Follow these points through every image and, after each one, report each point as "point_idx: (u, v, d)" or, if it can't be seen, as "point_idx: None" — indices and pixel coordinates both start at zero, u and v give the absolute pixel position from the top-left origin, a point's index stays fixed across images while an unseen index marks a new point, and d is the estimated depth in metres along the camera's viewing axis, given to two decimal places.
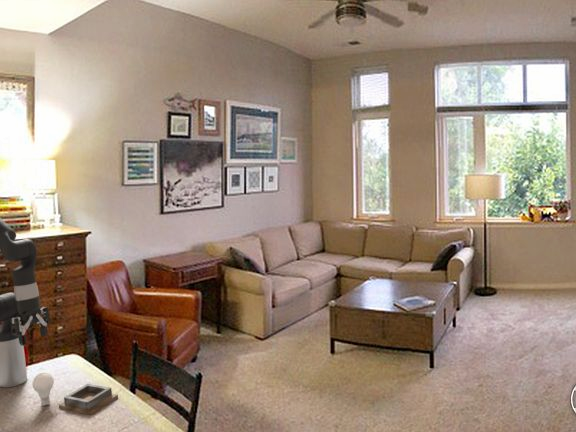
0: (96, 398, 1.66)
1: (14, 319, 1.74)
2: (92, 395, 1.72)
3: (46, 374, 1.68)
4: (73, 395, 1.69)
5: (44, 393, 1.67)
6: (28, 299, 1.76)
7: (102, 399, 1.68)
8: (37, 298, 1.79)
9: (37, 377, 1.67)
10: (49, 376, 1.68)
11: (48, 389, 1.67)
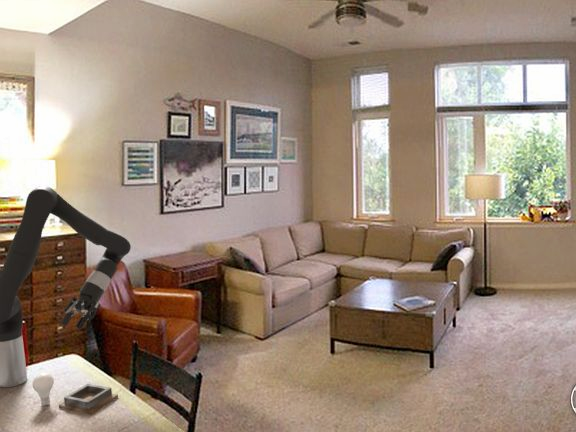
0: (96, 398, 1.66)
1: (99, 304, 1.77)
2: (92, 395, 1.72)
3: (46, 374, 1.68)
4: (73, 395, 1.69)
5: (44, 393, 1.67)
6: None
7: (102, 399, 1.68)
8: None
9: (37, 377, 1.67)
10: (49, 376, 1.68)
11: (48, 389, 1.67)
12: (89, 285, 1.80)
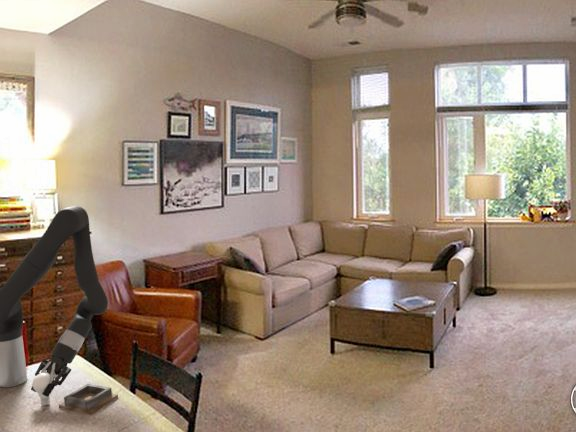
0: (96, 398, 1.66)
1: (69, 369, 1.69)
2: (92, 395, 1.72)
3: (46, 374, 1.68)
4: (73, 395, 1.69)
5: None
6: (77, 352, 1.76)
7: (102, 399, 1.68)
8: None
9: (37, 377, 1.67)
10: (49, 376, 1.68)
11: None
12: (61, 347, 1.72)
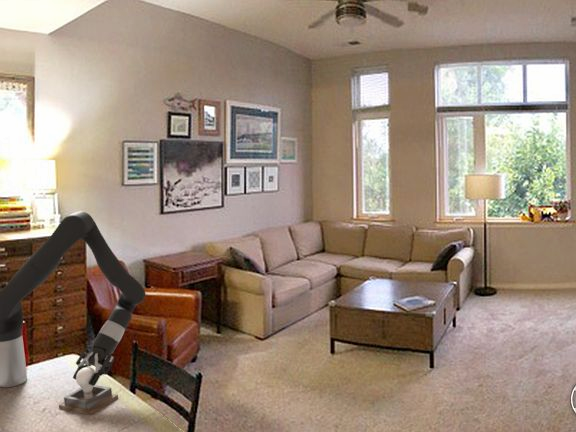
0: (96, 398, 1.66)
1: (113, 358, 1.69)
2: None
3: (89, 368, 1.68)
4: (73, 395, 1.69)
5: (87, 387, 1.67)
6: None
7: (102, 399, 1.68)
8: None
9: (81, 371, 1.67)
10: (92, 370, 1.68)
11: None
12: (103, 337, 1.72)
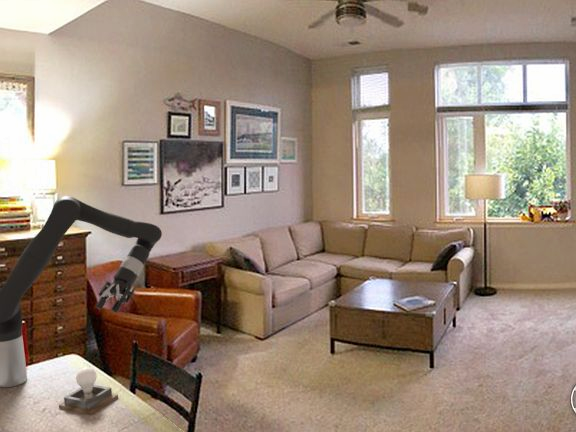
0: (96, 398, 1.66)
1: (133, 288, 1.84)
2: None
3: (89, 368, 1.68)
4: (73, 395, 1.69)
5: (88, 387, 1.67)
6: None
7: (102, 399, 1.68)
8: None
9: (81, 371, 1.67)
10: (92, 370, 1.68)
11: (91, 383, 1.67)
12: (123, 270, 1.86)
